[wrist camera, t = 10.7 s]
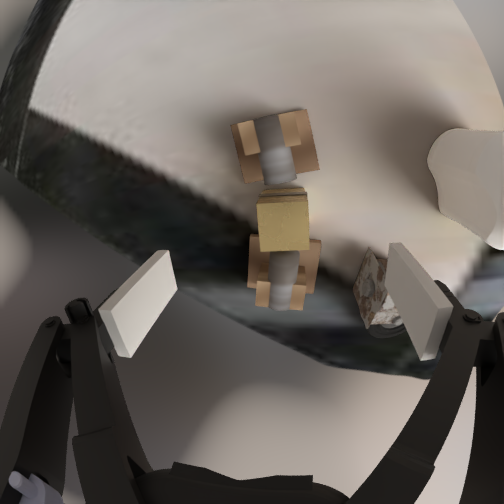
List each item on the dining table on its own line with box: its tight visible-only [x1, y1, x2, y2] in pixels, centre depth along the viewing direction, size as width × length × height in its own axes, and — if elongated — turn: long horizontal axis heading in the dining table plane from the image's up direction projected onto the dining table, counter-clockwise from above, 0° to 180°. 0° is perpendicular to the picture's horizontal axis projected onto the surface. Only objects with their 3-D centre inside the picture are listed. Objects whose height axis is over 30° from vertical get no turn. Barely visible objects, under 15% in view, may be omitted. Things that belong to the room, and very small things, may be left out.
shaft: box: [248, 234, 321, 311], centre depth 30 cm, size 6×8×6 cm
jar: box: [427, 128, 504, 250], centre depth 18 cm, size 12×10×15 cm
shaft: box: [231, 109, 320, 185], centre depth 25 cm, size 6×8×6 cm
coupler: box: [256, 188, 310, 252], centre depth 27 cm, size 5×5×7 cm
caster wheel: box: [353, 247, 407, 338], centre depth 30 cm, size 7×11×10 cm
